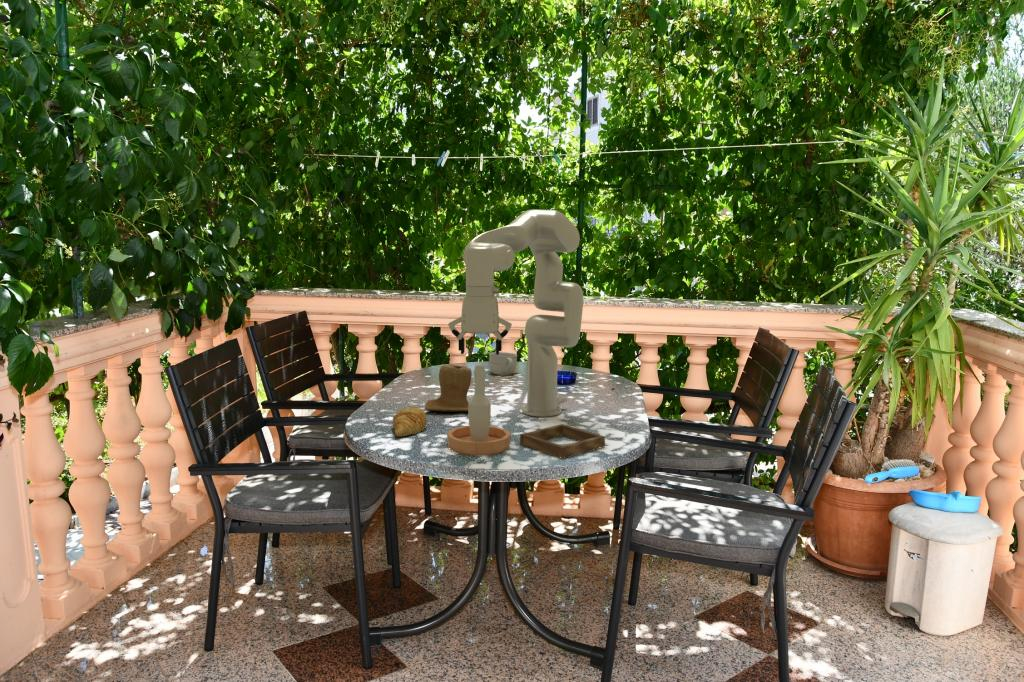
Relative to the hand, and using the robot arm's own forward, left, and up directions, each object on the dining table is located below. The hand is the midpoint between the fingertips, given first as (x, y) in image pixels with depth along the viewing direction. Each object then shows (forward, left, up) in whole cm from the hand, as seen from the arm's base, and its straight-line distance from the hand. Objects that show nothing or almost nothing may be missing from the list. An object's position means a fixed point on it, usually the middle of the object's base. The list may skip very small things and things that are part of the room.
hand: (480, 353), depth 239 cm
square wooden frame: (-18, +15, -26) cm, 35 cm away
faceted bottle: (0, 0, -26) cm, 25 cm away
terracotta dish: (0, 0, -26) cm, 26 cm away
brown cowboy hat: (-18, -36, -27) cm, 48 cm away
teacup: (-67, -65, -27) cm, 97 cm away
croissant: (+6, -26, -27) cm, 38 cm away
